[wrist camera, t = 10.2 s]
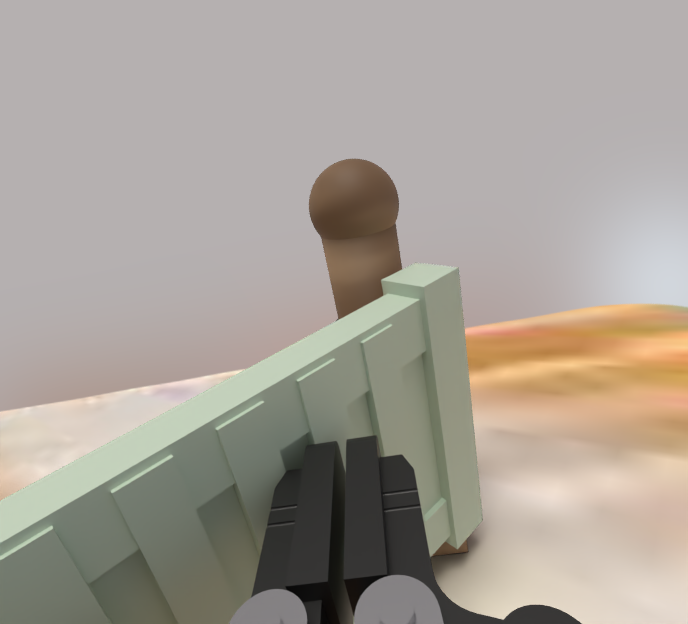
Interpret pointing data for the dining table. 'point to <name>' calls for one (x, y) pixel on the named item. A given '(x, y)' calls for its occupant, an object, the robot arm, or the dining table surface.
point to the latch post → (359, 238)
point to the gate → (247, 468)
